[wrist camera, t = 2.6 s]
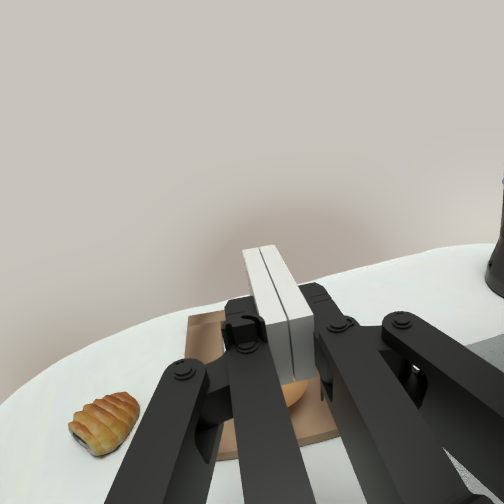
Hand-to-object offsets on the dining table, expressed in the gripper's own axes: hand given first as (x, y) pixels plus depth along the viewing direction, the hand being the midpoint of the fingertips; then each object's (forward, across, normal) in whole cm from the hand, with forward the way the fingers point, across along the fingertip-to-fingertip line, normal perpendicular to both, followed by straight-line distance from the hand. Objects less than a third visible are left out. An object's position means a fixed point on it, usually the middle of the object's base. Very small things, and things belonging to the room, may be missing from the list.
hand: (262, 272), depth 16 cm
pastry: (+8, -20, -20) cm, 29 cm away
